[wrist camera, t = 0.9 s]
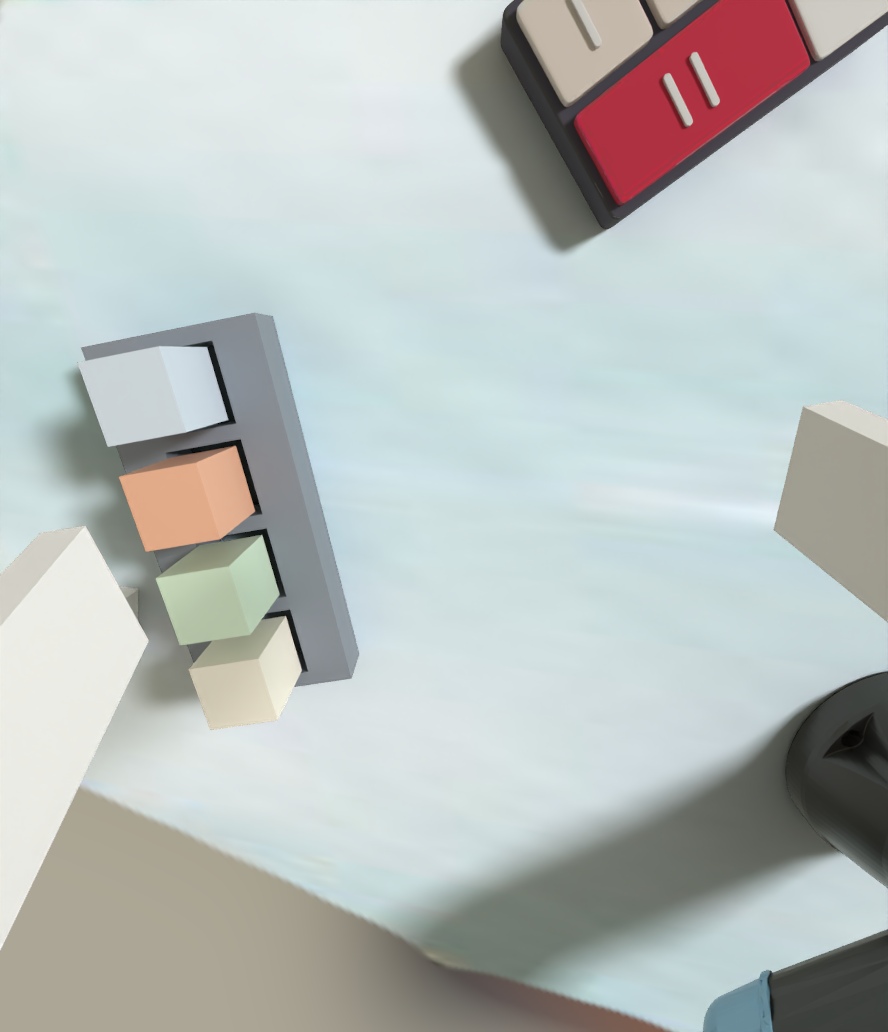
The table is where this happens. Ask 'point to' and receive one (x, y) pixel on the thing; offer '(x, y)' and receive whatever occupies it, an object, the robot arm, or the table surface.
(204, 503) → the key terracotta
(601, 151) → the calculator
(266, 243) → the table surface
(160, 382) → the key bluegrey
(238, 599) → the key green
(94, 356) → the key panel
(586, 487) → the table surface
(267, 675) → the key ivory
